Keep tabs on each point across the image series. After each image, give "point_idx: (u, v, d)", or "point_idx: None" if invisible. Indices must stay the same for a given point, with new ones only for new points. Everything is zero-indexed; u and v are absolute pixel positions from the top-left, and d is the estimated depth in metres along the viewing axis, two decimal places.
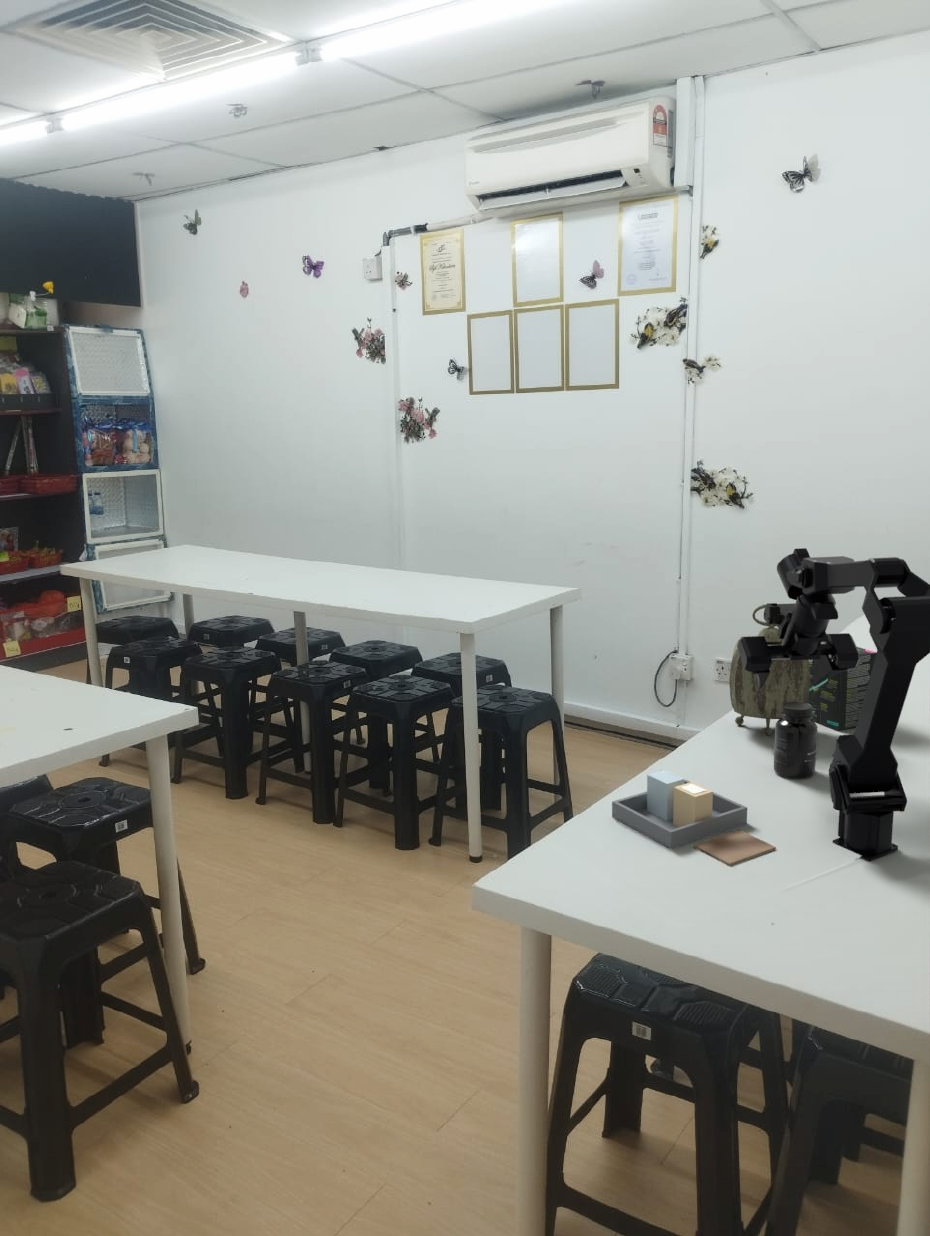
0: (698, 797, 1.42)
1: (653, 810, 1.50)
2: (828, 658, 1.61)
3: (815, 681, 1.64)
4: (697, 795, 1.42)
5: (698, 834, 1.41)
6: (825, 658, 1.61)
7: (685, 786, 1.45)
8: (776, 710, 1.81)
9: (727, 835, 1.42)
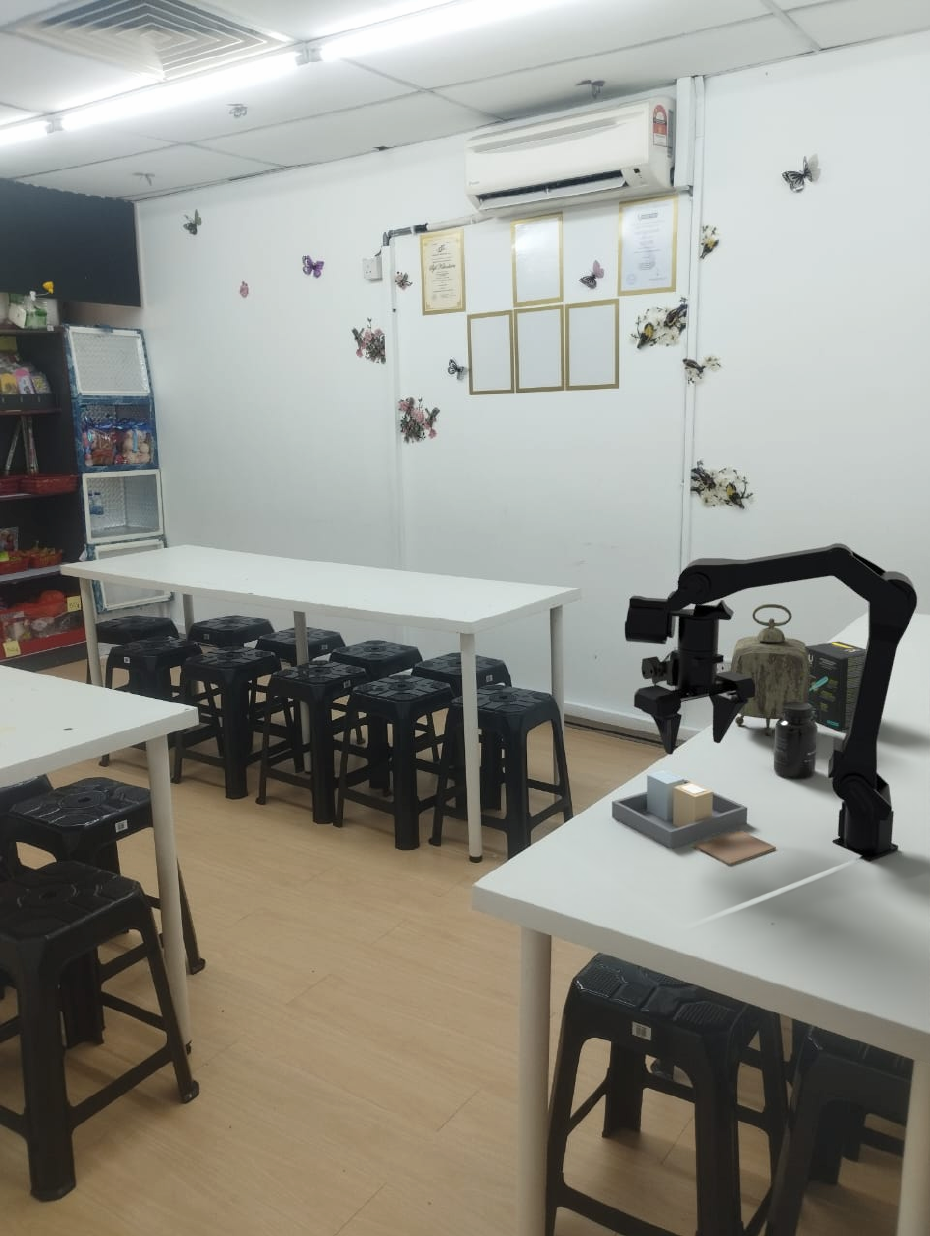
0: (698, 797, 1.42)
1: (653, 810, 1.50)
2: (724, 698, 1.45)
3: (719, 733, 1.45)
4: (697, 795, 1.42)
5: (698, 834, 1.41)
6: (720, 701, 1.45)
7: (685, 786, 1.45)
8: (776, 710, 1.81)
9: (727, 835, 1.42)
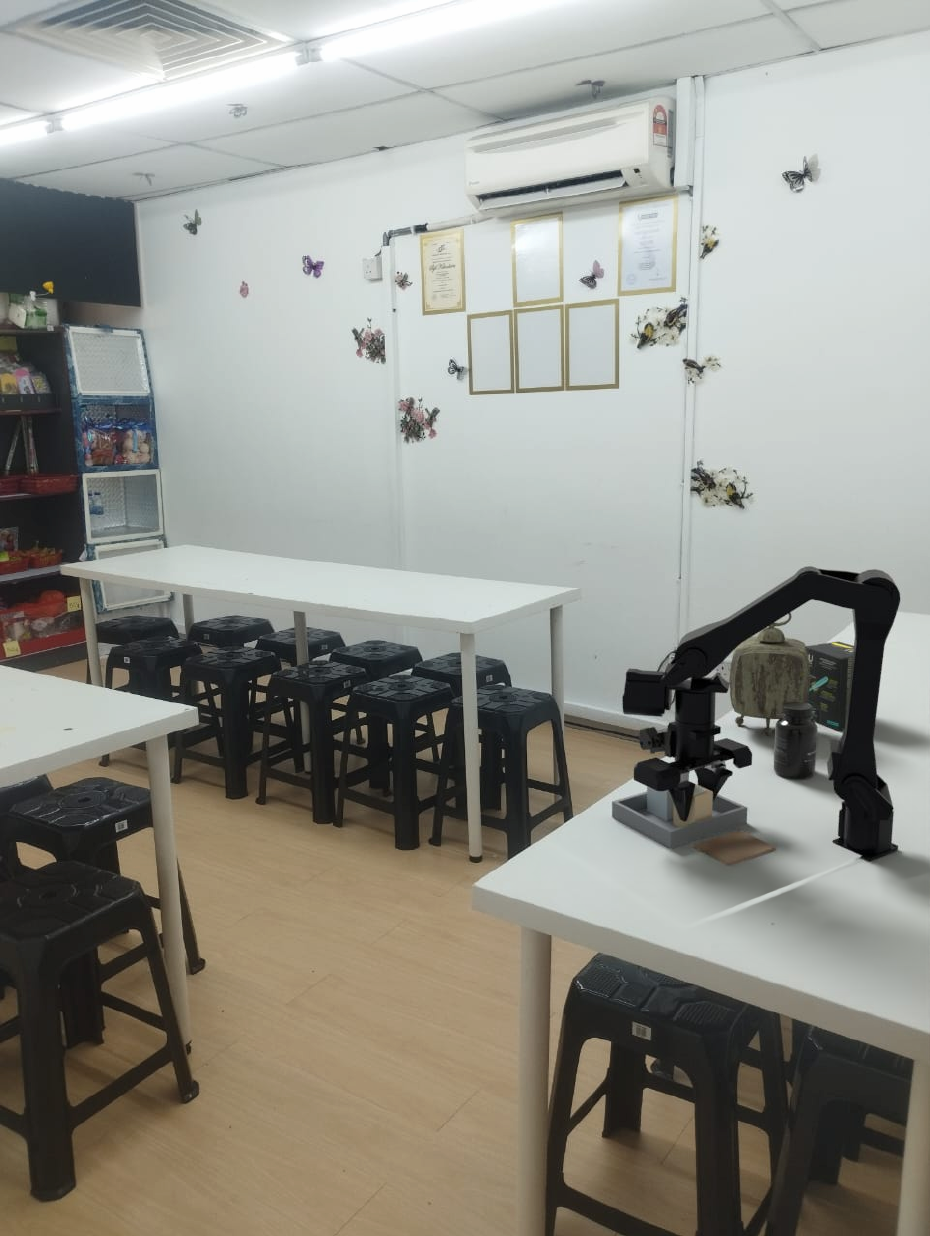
0: (698, 797, 1.42)
1: (653, 810, 1.50)
2: (708, 770, 1.45)
3: None
4: (697, 795, 1.42)
5: (698, 834, 1.41)
6: (705, 773, 1.45)
7: None
8: (776, 710, 1.81)
9: (727, 835, 1.42)
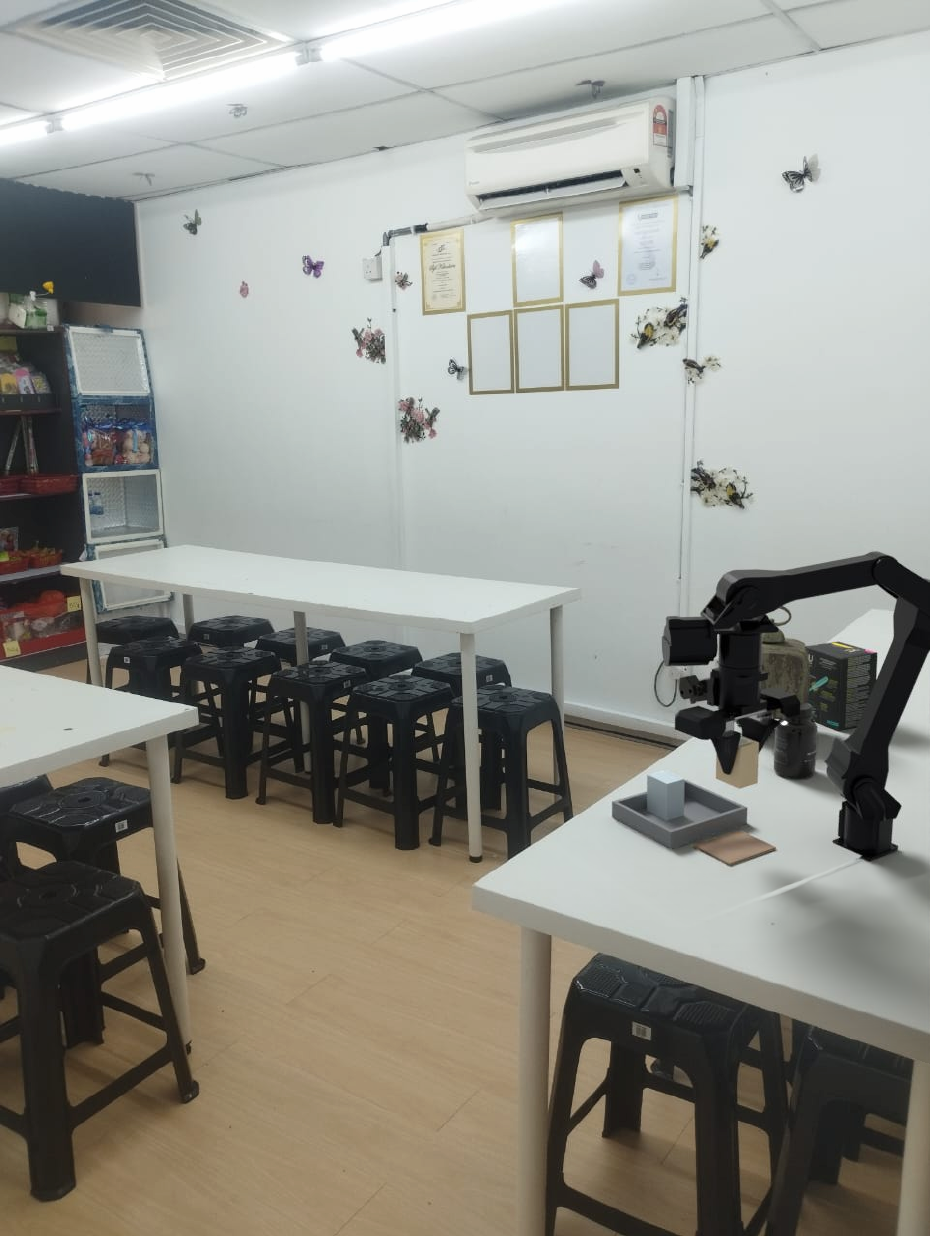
0: (743, 748, 1.33)
1: (653, 810, 1.50)
2: (754, 720, 1.35)
3: None
4: (742, 746, 1.33)
5: (698, 834, 1.41)
6: (750, 724, 1.36)
7: None
8: (776, 710, 1.81)
9: (727, 835, 1.42)
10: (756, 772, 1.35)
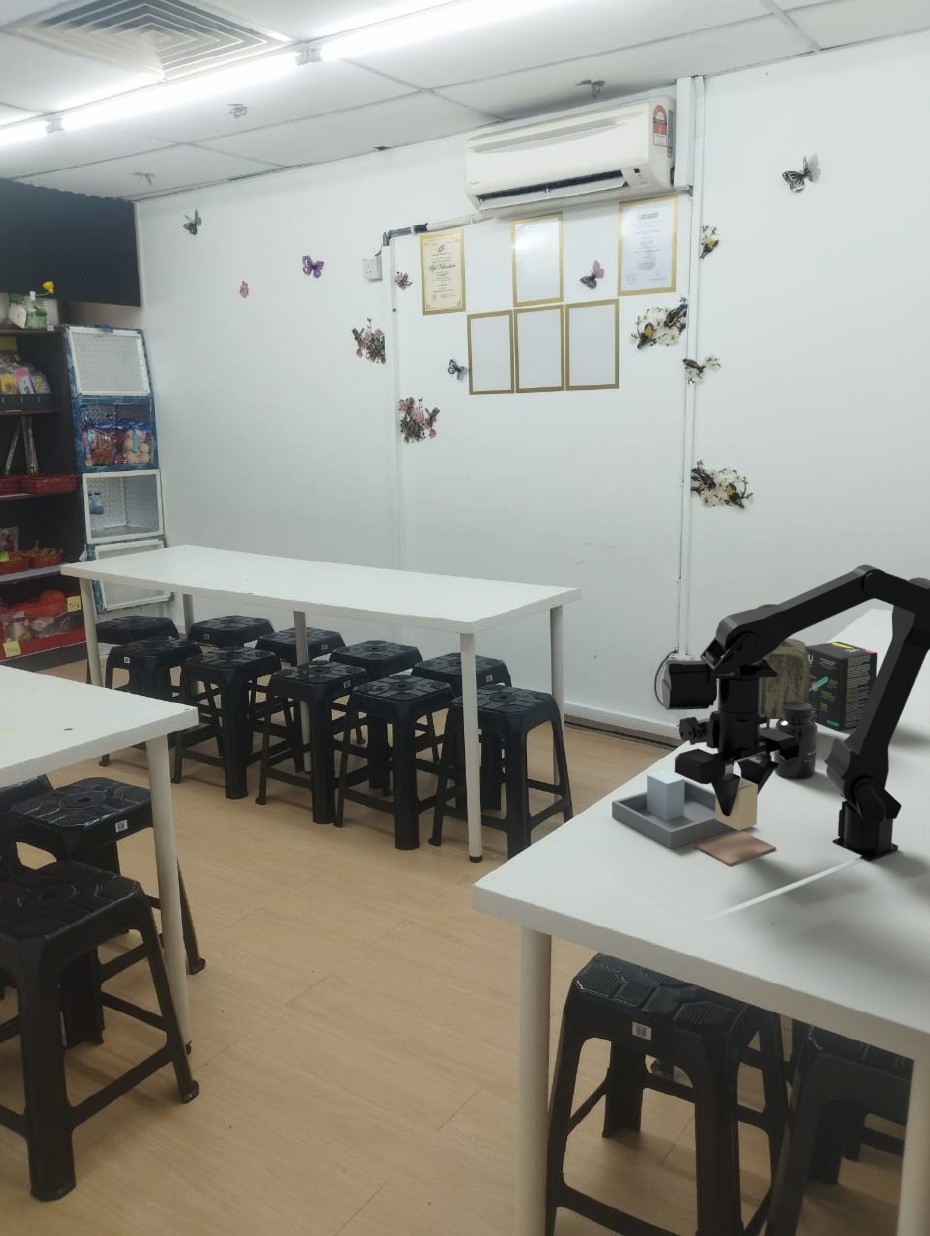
0: (742, 790, 1.34)
1: (653, 810, 1.50)
2: (753, 762, 1.37)
3: None
4: (741, 788, 1.34)
5: (698, 834, 1.41)
6: (749, 766, 1.37)
7: None
8: (776, 710, 1.81)
9: (727, 835, 1.42)
10: (755, 813, 1.36)
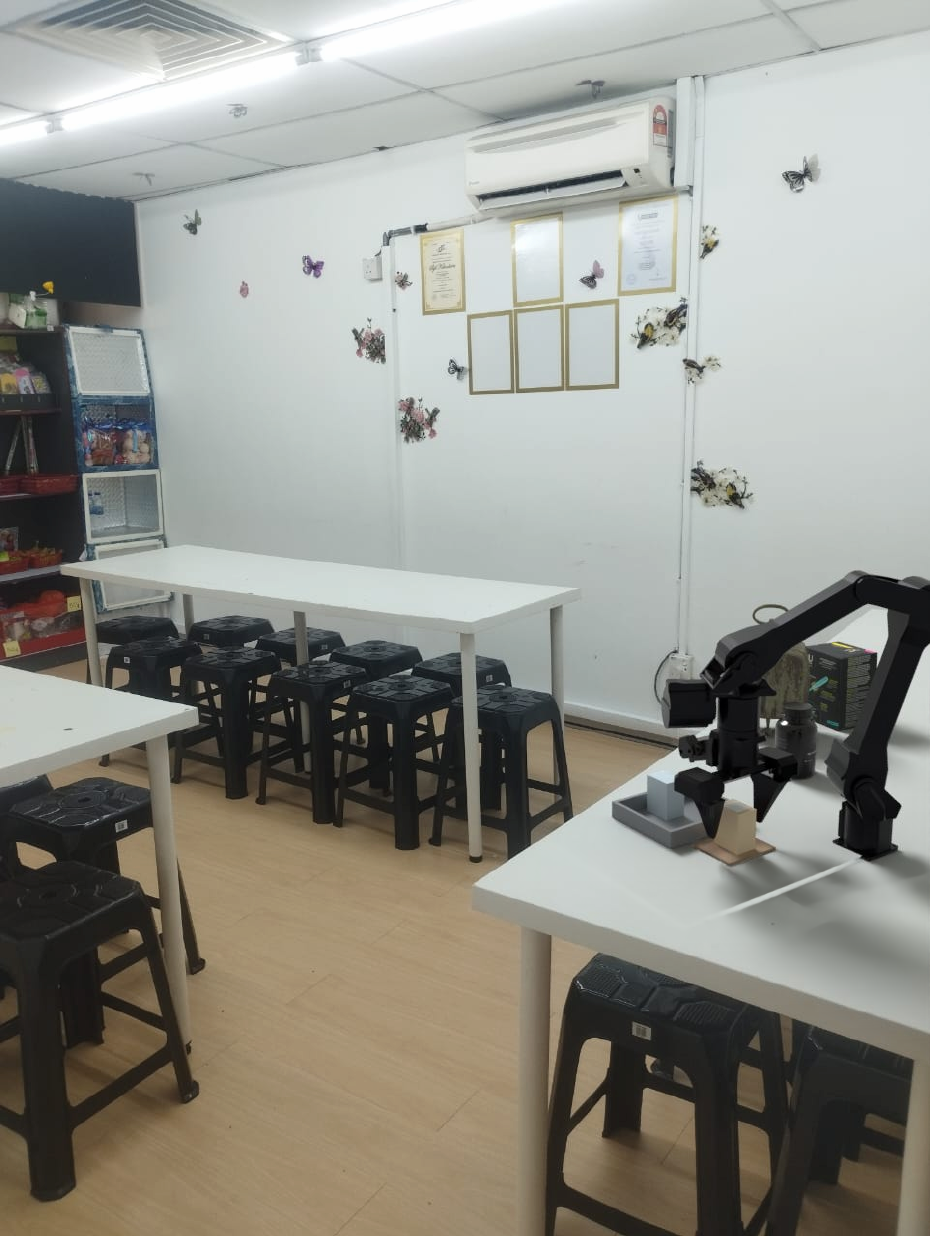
0: (741, 815, 1.35)
1: (653, 810, 1.50)
2: (765, 776, 1.39)
3: (761, 813, 1.39)
4: (740, 813, 1.35)
5: (698, 834, 1.41)
6: (761, 779, 1.39)
7: (727, 803, 1.38)
8: (776, 710, 1.81)
9: None
10: (753, 838, 1.37)
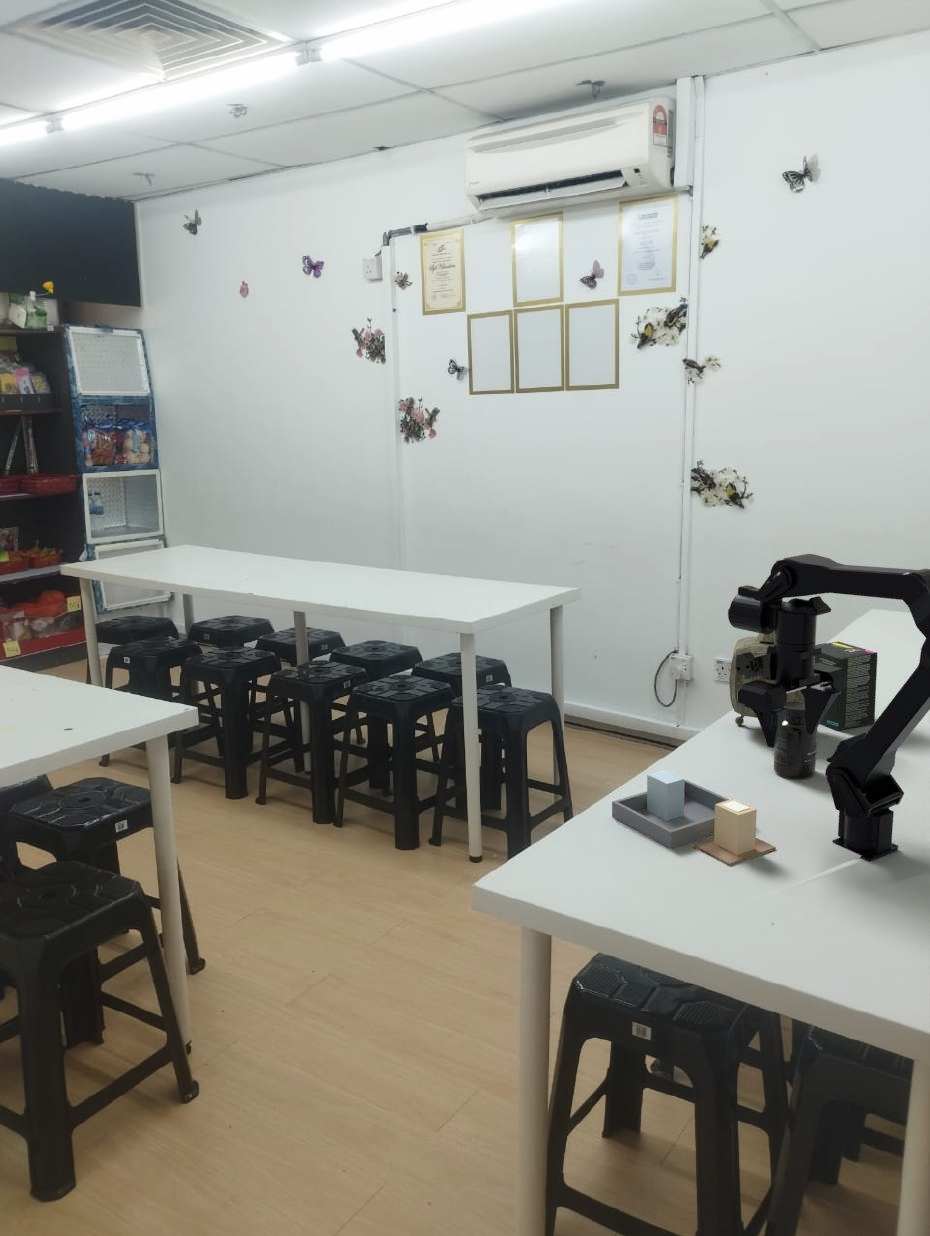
0: (741, 815, 1.35)
1: (653, 810, 1.50)
2: (817, 690, 1.47)
3: (813, 725, 1.48)
4: (740, 813, 1.35)
5: (698, 834, 1.41)
6: (813, 693, 1.48)
7: (727, 803, 1.38)
8: None
9: None
10: (753, 838, 1.37)
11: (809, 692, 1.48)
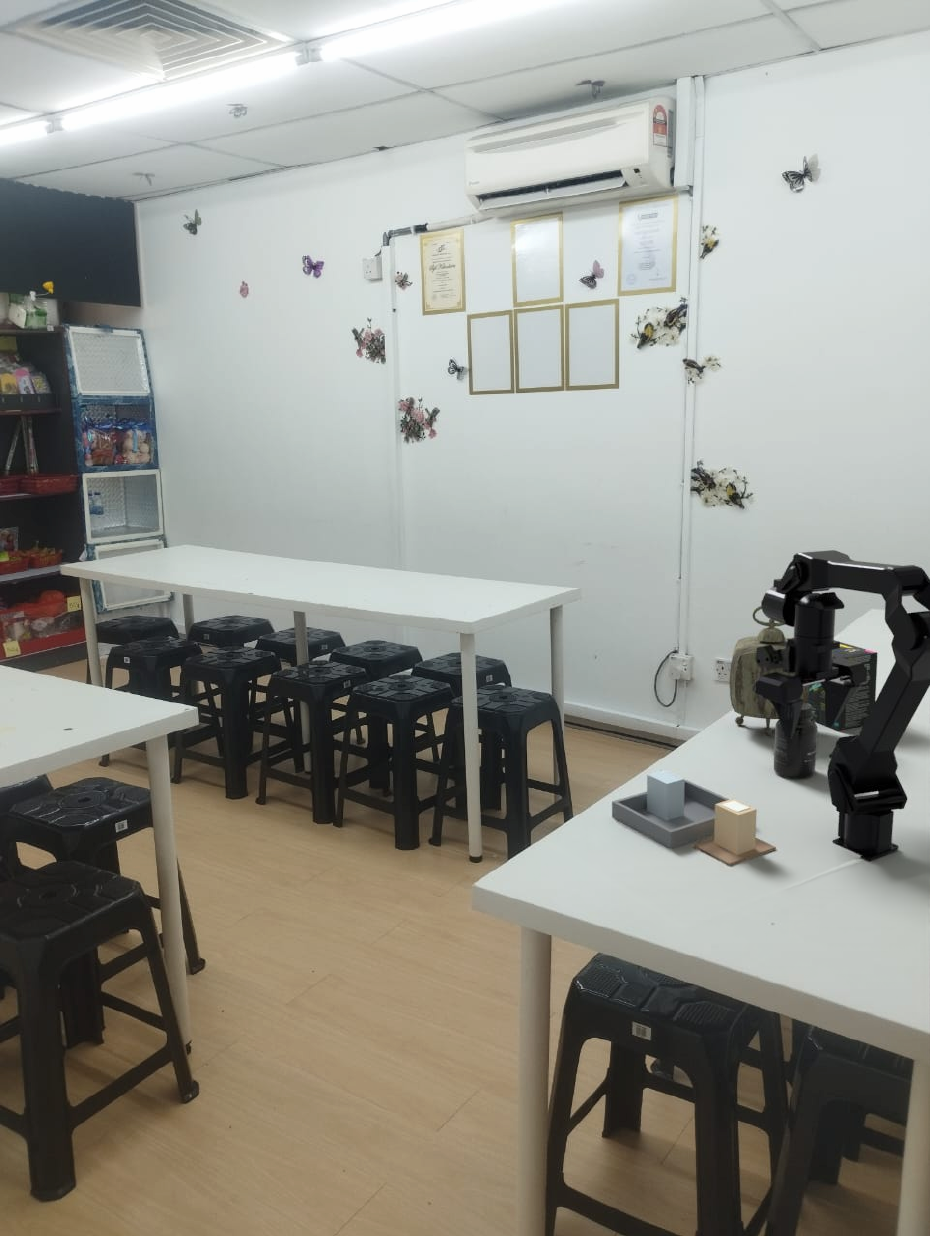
0: (741, 815, 1.35)
1: (653, 810, 1.50)
2: (837, 683, 1.50)
3: (833, 718, 1.51)
4: (740, 813, 1.35)
5: (698, 834, 1.41)
6: (833, 686, 1.51)
7: (727, 803, 1.38)
8: None
9: None
10: (753, 838, 1.37)
11: (829, 685, 1.51)
